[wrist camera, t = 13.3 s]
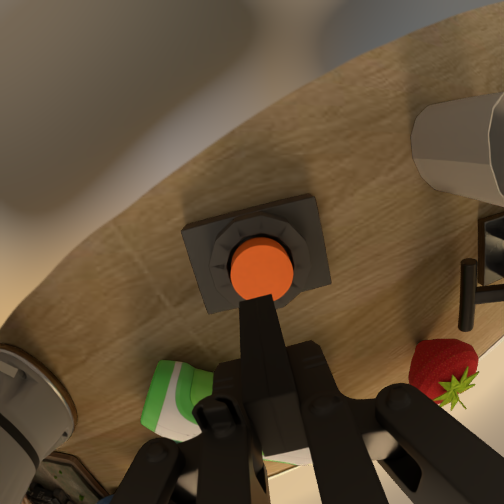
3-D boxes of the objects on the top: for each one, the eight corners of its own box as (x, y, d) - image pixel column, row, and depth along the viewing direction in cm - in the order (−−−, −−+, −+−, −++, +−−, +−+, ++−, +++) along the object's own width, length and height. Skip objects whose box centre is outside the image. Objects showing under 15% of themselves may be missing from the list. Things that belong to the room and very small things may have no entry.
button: (239, 297, 23) (239, 310, 21) (224, 245, 22) (222, 253, 20) (294, 283, 23) (298, 295, 21) (281, 230, 22) (286, 237, 20)
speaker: (151, 391, 30) (133, 443, 22) (166, 338, 28) (146, 391, 21) (303, 430, 32) (314, 480, 25) (334, 386, 30) (353, 438, 23)
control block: (210, 303, 27) (205, 326, 23) (185, 224, 25) (175, 236, 21) (325, 274, 26) (338, 293, 23) (308, 193, 24) (321, 199, 21)
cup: (480, 118, 23) (554, 115, 13) (473, 198, 25) (547, 220, 15) (413, 92, 22) (487, 71, 12) (405, 183, 24) (480, 201, 15)
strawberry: (450, 346, 30) (498, 398, 20) (395, 378, 30) (433, 441, 21) (445, 306, 28) (502, 356, 18) (385, 341, 29) (430, 405, 19)
